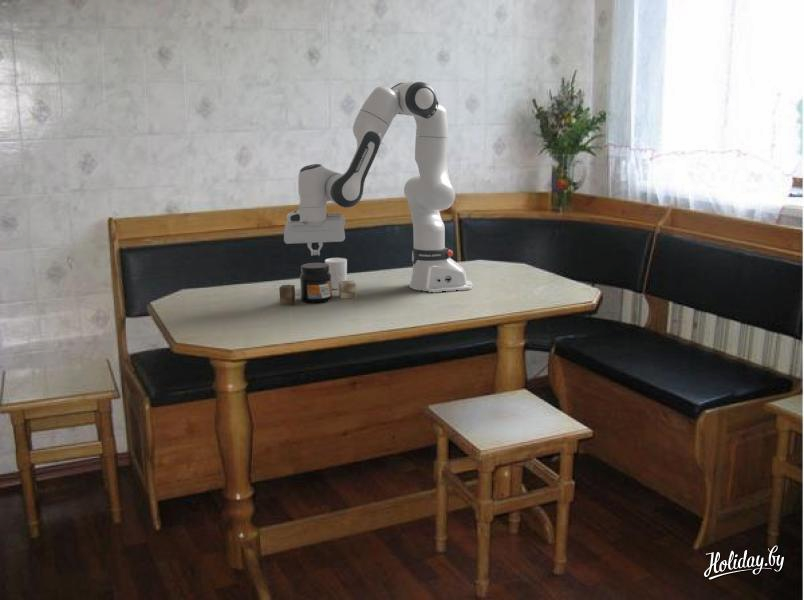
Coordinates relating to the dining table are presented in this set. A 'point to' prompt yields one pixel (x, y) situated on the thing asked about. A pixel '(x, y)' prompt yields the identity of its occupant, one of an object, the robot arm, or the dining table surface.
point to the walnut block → (287, 294)
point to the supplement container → (315, 283)
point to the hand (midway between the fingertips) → (315, 255)
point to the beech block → (347, 289)
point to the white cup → (337, 271)
